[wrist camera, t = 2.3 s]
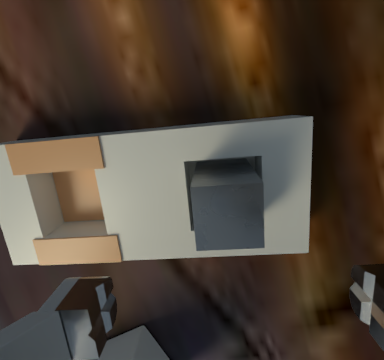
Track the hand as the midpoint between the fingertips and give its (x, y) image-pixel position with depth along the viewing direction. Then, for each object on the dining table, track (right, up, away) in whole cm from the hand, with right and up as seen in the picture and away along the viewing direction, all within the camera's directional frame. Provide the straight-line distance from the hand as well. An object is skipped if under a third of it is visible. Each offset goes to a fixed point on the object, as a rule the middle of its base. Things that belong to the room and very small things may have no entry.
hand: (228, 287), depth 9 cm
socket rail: (-5, +3, +14) cm, 15 cm away
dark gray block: (+1, +3, +12) cm, 13 cm away
